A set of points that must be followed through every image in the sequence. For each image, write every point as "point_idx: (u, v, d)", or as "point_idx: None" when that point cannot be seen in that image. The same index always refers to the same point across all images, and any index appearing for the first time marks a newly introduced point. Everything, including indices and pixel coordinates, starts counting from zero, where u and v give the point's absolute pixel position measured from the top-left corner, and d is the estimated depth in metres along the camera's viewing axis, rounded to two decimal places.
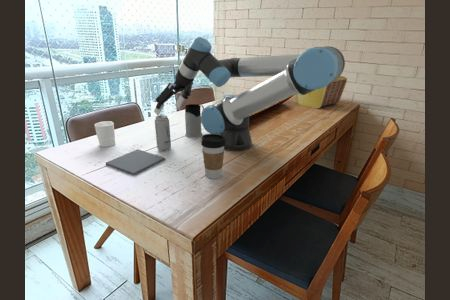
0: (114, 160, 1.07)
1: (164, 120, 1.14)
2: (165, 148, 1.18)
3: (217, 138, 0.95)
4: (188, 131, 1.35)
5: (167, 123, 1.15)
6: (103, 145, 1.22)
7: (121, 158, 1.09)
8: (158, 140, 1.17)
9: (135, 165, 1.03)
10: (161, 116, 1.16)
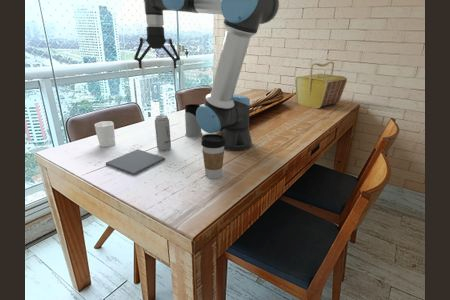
0: (114, 160, 1.07)
1: (164, 120, 1.14)
2: (165, 148, 1.18)
3: (217, 138, 0.95)
4: (188, 131, 1.35)
5: (167, 123, 1.15)
6: (103, 145, 1.22)
7: (121, 158, 1.09)
8: (158, 140, 1.17)
9: (135, 165, 1.03)
10: (161, 116, 1.16)
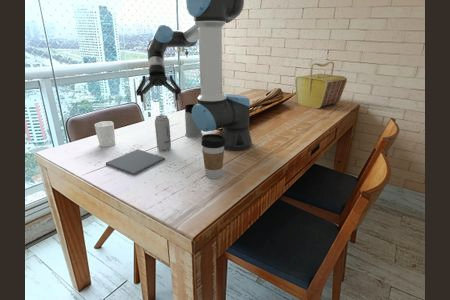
0: (114, 160, 1.07)
1: (164, 120, 1.14)
2: (165, 148, 1.18)
3: (217, 138, 0.95)
4: (188, 131, 1.35)
5: (167, 123, 1.15)
6: (103, 145, 1.22)
7: (121, 158, 1.09)
8: (158, 140, 1.17)
9: (135, 165, 1.03)
10: (161, 116, 1.16)
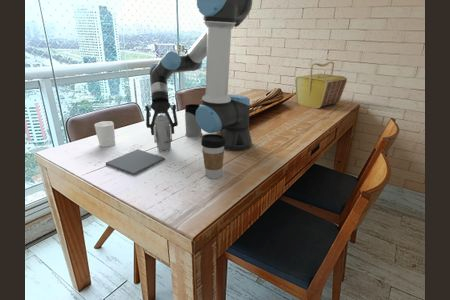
0: (114, 160, 1.07)
1: (164, 120, 1.14)
2: (165, 148, 1.18)
3: (217, 138, 0.95)
4: (188, 131, 1.35)
5: (167, 123, 1.15)
6: (103, 145, 1.22)
7: (121, 158, 1.09)
8: (158, 140, 1.17)
9: (135, 165, 1.03)
10: (161, 116, 1.16)
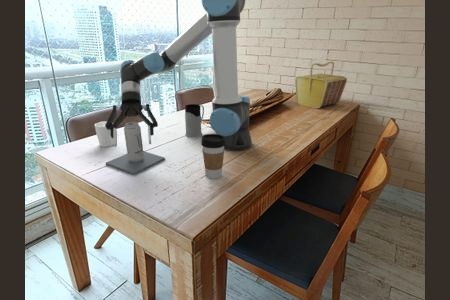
0: (114, 160, 1.07)
1: (134, 128, 1.01)
2: (136, 159, 1.05)
3: (217, 138, 0.95)
4: (188, 131, 1.35)
5: (138, 131, 1.02)
6: (103, 145, 1.22)
7: (121, 158, 1.09)
8: (128, 150, 1.04)
9: (135, 165, 1.03)
10: (131, 123, 1.03)
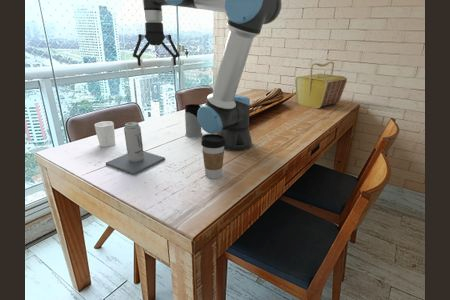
0: (114, 160, 1.07)
1: (134, 128, 1.01)
2: (136, 159, 1.05)
3: (217, 138, 0.95)
4: (188, 131, 1.35)
5: (138, 131, 1.02)
6: (103, 145, 1.22)
7: (121, 158, 1.09)
8: (128, 150, 1.04)
9: (135, 165, 1.03)
10: (131, 123, 1.03)
